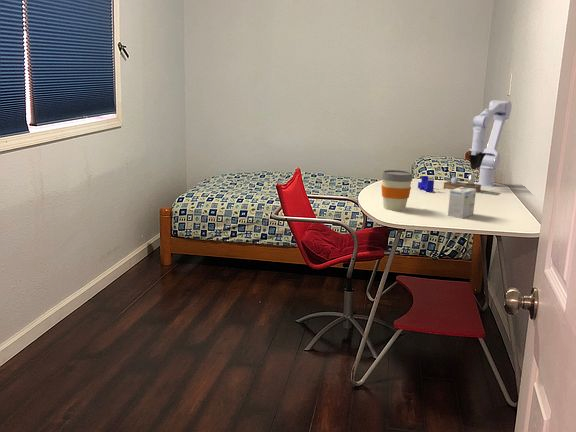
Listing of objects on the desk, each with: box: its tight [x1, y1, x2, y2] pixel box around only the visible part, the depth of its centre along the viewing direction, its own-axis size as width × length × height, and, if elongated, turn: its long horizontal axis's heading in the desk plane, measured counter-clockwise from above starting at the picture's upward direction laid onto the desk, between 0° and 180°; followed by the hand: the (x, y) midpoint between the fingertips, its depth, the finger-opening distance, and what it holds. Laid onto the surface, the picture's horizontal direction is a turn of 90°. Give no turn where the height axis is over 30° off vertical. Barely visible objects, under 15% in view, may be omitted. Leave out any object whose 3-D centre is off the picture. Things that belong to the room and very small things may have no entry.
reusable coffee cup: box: [381, 169, 413, 212], centre depth 268 cm, size 13×13×15 cm
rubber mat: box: [480, 190, 502, 196], centre depth 312 cm, size 8×8×1 cm
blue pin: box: [450, 176, 459, 184], centre depth 320 cm, size 3×3×6 cm
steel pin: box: [467, 173, 476, 186], centre depth 316 cm, size 3×3×8 cm
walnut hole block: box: [443, 180, 482, 193], centre depth 319 cm, size 8×16×3 cm, turn 59°
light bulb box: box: [447, 187, 477, 219], centre depth 261 cm, size 11×7×11 cm, turn 141°
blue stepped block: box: [417, 175, 435, 194], centre depth 313 cm, size 12×4×6 cm, turn 2°
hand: (475, 168), depth 320 cm, fingers open, 7 cm apart
